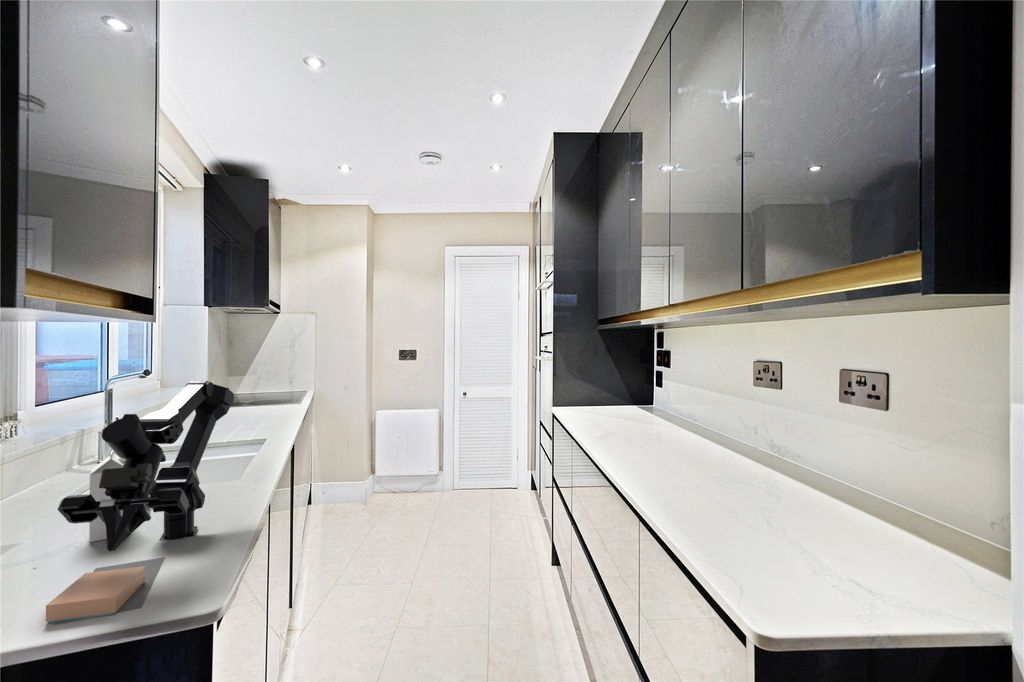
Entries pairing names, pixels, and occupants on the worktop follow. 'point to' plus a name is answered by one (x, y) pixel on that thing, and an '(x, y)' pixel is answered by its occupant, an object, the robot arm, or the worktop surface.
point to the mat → (141, 593)
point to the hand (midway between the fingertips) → (110, 550)
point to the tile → (95, 594)
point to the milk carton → (101, 494)
